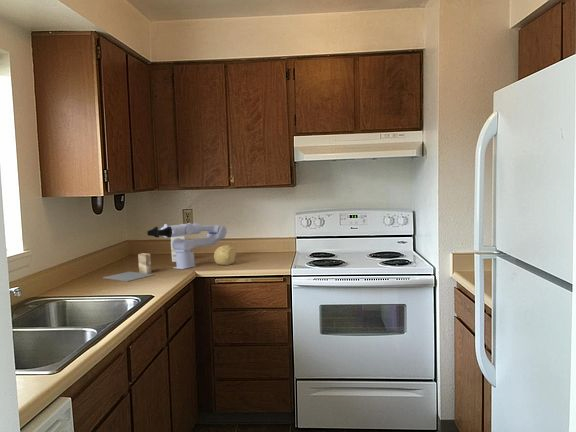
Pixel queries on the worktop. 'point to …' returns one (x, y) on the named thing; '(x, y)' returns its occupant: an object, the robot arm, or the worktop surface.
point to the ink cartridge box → (173, 249)
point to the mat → (128, 276)
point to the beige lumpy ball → (225, 255)
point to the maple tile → (144, 263)
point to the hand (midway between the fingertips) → (152, 233)
